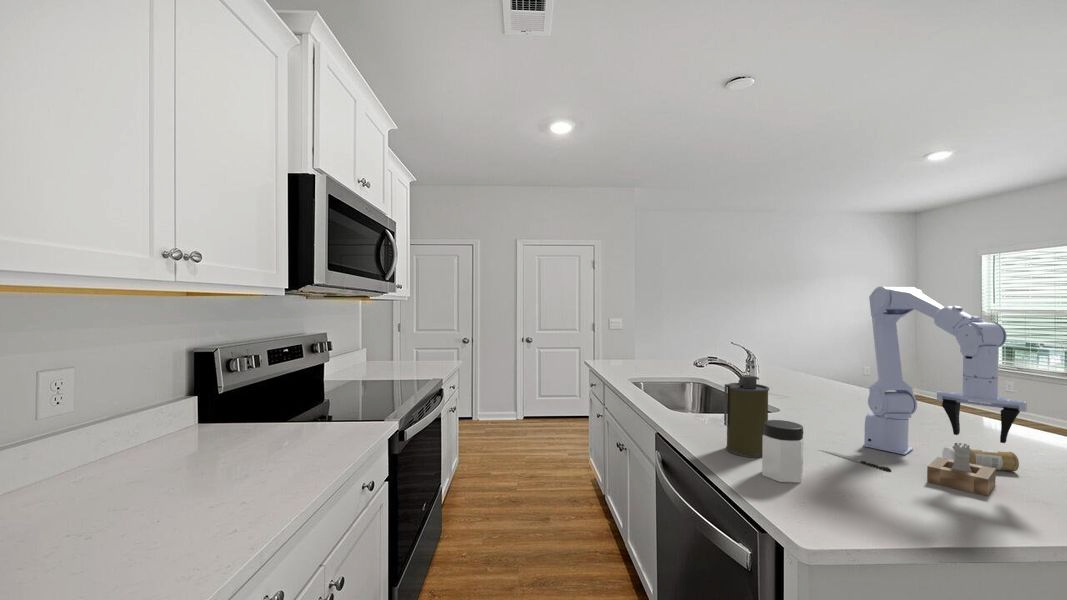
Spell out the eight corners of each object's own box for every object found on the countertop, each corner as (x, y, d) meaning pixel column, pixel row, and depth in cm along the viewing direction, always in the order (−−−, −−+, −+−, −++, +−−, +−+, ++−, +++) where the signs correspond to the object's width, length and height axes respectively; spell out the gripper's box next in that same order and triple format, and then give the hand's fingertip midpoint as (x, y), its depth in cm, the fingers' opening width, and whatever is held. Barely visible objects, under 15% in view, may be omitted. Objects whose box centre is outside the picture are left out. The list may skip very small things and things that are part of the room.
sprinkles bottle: (1010, 447, 117) (944, 442, 120) (1022, 461, 113) (953, 455, 116) (1005, 462, 118) (939, 456, 122) (1016, 476, 114) (948, 470, 118)
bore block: (927, 481, 109) (927, 466, 109) (937, 471, 115) (937, 456, 115) (987, 496, 101) (988, 479, 101) (995, 484, 107) (995, 468, 107)
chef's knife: (820, 449, 133) (813, 450, 132) (820, 445, 133) (813, 445, 132) (897, 472, 116) (889, 473, 114) (897, 467, 116) (890, 468, 114)
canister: (760, 446, 134) (760, 373, 134) (775, 458, 123) (776, 380, 123) (719, 444, 135) (720, 372, 135) (731, 456, 125) (731, 379, 124)
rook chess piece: (942, 476, 110) (943, 441, 110) (960, 476, 111) (960, 441, 111) (962, 484, 106) (962, 447, 106) (980, 483, 106) (981, 447, 106)
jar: (812, 480, 109) (813, 427, 109) (788, 486, 106) (788, 431, 105) (777, 467, 117) (777, 417, 117) (753, 472, 114) (754, 421, 114)
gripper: (933, 374, 110) (932, 433, 110) (1024, 383, 99) (1023, 449, 99) (941, 371, 115) (940, 428, 115) (1028, 379, 103) (1027, 443, 103)
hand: (979, 438), depth 107 cm, fingers open, 7 cm apart
